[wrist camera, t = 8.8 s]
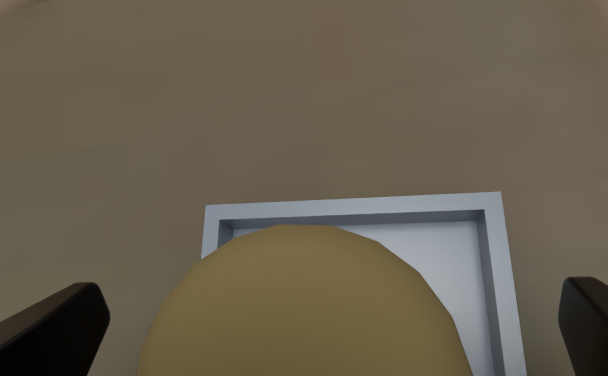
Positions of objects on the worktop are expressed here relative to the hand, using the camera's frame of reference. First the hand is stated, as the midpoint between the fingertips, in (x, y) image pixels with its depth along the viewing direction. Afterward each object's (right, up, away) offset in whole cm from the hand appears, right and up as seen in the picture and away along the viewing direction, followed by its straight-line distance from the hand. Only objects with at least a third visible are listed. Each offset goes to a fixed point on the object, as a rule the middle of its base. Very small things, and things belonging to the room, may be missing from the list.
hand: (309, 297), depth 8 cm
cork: (+2, -4, +7) cm, 9 cm away
